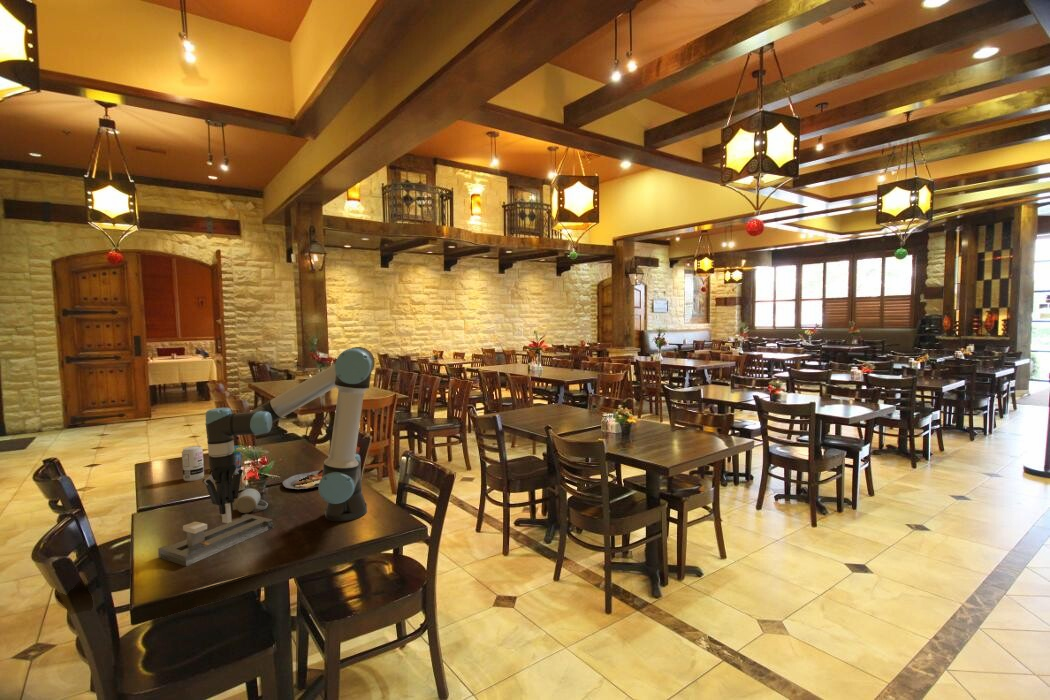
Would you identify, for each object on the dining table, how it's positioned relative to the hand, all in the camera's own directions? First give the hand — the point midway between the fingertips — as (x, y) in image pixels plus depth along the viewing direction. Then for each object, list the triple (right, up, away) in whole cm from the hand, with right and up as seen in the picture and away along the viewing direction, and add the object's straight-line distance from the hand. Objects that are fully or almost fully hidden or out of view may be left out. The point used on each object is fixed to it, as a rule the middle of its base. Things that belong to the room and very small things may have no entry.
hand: (227, 521), depth 168 cm
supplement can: (-56, -3, +66) cm, 87 cm away
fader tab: (-5, -5, -9) cm, 11 cm away
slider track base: (-1, -6, -2) cm, 6 cm away
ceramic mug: (-6, -5, +27) cm, 28 cm away
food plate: (+4, -3, +58) cm, 58 cm away
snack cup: (-48, -2, +84) cm, 96 cm away
